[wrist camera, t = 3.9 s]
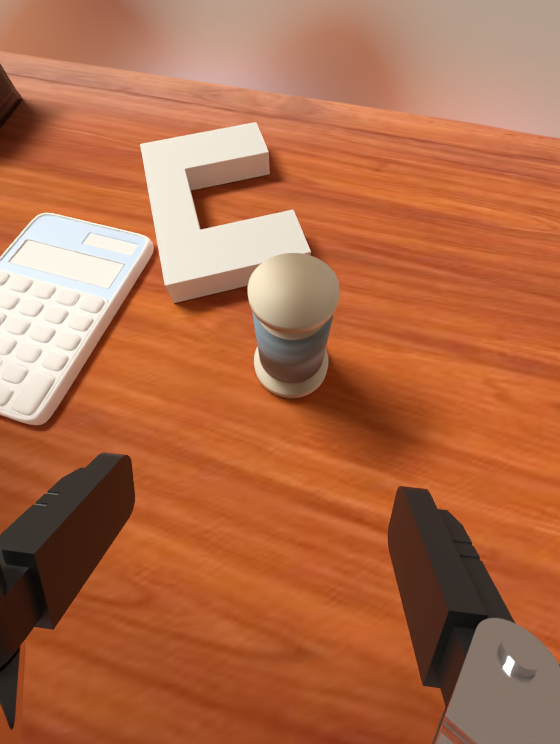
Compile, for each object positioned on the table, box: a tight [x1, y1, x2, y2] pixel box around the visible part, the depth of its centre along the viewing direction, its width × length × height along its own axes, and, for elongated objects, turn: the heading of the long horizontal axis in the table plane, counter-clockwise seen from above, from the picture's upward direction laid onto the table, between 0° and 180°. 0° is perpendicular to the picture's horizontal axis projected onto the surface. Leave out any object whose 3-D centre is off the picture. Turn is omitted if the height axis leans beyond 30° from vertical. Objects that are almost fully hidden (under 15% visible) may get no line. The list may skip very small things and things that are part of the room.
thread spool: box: [247, 253, 340, 399], centre depth 24 cm, size 6×6×10 cm
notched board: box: [140, 122, 311, 303], centre depth 35 cm, size 13×20×2 cm, turn 16°
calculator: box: [0, 213, 154, 425], centre depth 31 cm, size 13×20×2 cm, turn 162°
